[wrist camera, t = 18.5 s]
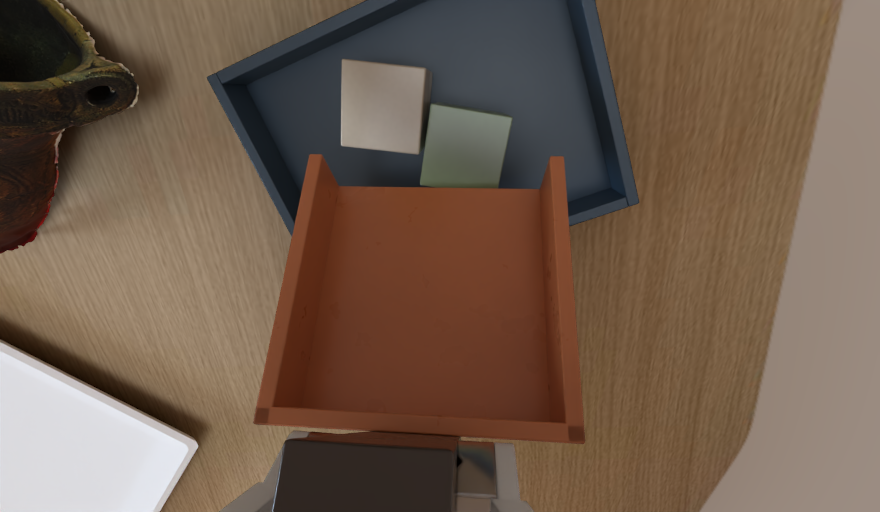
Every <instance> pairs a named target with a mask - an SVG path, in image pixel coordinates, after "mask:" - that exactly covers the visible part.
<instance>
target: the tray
mask: <svg viewBox="0 0 880 512" xmlns="http://www.w3.org/2000/svg"><path fill="white" fill-rule="evenodd" d="M342 59H350V60H359V61H368V62H378V63H387V64H396V65H405V66H415V67H424V68H426V69H427V70H429V71H431V72H432V73H433V76H432V88H431V100H430V106H431V103H436V102H441V103H447V104H453V105H458V106H464V107H470V108H476V109H482V110H488V111H494V112H499V113H505V114H507V115H509V116H511V117H513V120H512V125H511V130H510V134H509V139H508V144H507V148H506V153H505V158H504V162H503V167H502V172H501V176H500V181H499V186H498V188H499V189H540V187H541V184H542V180H543V177H544V174H545V171H546V168H547V165H548V161H549V158H550V157H551V156H563V157H564V163H565V177H566V190H567V204H568V217H569V226H572V225H575V224H578V223H581V222H584V221H587V220H590V219H593V218H596V217H599V216H602V215H605V214H608V213H611V212H614V211H617V210H620V209H623V208H626V207H628V206H632V205H635V204H638V203H639V199H638V194H637V189H636V185H635V180H634V176H633V171H632V167H631V162H630V158H629V153H628V148H627V144H626V139H625V135H624V130H623V126H622V121H621V117H620V112H619V107H618V103H617V98H616V94H615V89H614V85H613V80H612V76H611V71H610V66H609V62H608V57H607V53H606V48H605V44H604V39H603V35H602V30H601V25H600V21H599V16H598V12H597V7H596V3H595V0H366V1H364V2H362V3H360V4H358V5H356V6H353V7H351V8H349V9H347V10H345V11H343V12H341V13H339V14H337V15H335V16H333V17H331V18H329V19H326V20H324V21H322V22H320V23H318V24H316V25H314V26H312V27H310V28H308V29H306V30H304V31H302V32H299V33H297V34H295V35H293V36H291V37H289V38H287V39H285V40H283V41H281V42H279V43H277V44H275V45H272V46H270V47H268V48H266V49H264V50H262V51H260V52H258V53H256V54H254V55H252V56H250V57H248V58H245V59H243V60H241V61H239V62H237V63H235V64H233V65H231V66H229V67H227V68H225V69H223V70H221V71H218V72H217V73H214V74H212V75H210V76H208V77H207V79H208V81H209V83H210V85H211V87H212V89H213V90H214V92H215V94H216V96H217V98H218V100H219V102H220V104H221V105H222V107H223V109H224V111H225V113H226V115H227V117H228V118H229V120H230V122H231V124H232V126H233V128H234V130H235V132H236V133H237V135H238V137H239V139H240V141H241V143H242V145H243V146H244V148H245V150H246V152H247V154H248V156H249V158H250V160H251V161H252V163H253V165H254V167H255V169H256V171H257V173H258V174H259V176H260V178H261V180H262V182H263V184H264V186H265V187H266V189H267V191H268V193H269V195H270V197H271V199H272V201H273V202H274V204H275V206H276V208H277V210H278V212H279V214H280V215H281V217H282V219H283V221H284V223H285V225H286V227H287V229H288V230H289V232H290V234H291V236H292V235H293V230H294V226H295V221H296V216H297V211H298V207H299V202H300V197H301V192H302V188H303V183H304V178H305V173H306V168H307V164H308V159H309V155H310V154H322V155H323V157H324V159H325V161H326V163H327V165H328V167H329V168H330V170H331V172H332V174H333V176H334V178H335V180H336V182H337V183H338V185H339V186H361V187H430V186H424V185H420V178H421V171H422V163H423V156H424V149H425V147H424V149H423V150H422V151H421V152H420V153H419V154H418V155H416V154H407V153H398V152H389V151H381V150H372V149H363V148H354V147H345V146H341V75H342ZM429 113H430V111H429ZM430 188H436V187H430Z"/></svg>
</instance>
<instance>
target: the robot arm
mask: <svg viewBox="0 0 880 512" xmlns="http://www.w3.org/2000/svg"><path fill="white" fill-rule="evenodd" d="M325 435H336V434H333V433H321V432H307V431H293V432H292V433H291V434H289V436H288V438H287V439H286V440H288V439H292V438H303V437H314V436H325ZM457 444H458V451H457V471H456V492H455V512H534V511H533V509H532V508H531V507H530V505H529V504H528V503H527V501H521V500H520V493H519V484H518V475H517V466H516V457H515V448H514V445H513V444H512V443H493V442H475V441H457ZM282 451H283V447H282V449H281V450H280V452H279V454H278V456H277V458H276V460H275V462H274V463H273V465H272V467H271V469H270V471H269V473H268V475H267V476H266V478H265V480H264V482H263V483H260V482H258V483H256V484H255V485H254V486H252V487H251V488H250V489H248V490H247V491H246V492H244V493H243V494H242V495H240V496H239V497H238V498H236V499H235V500H234V501H232V502H231V503H230V504H228V505H227V506H226V507H224V508H223V509H222V510H220V511H219V512H272V506H273V501H274V495H275V490H276V484H277V479H278V473H279V467H280V462H281V456H282Z"/></svg>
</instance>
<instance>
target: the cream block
mask: <svg viewBox="0 0 880 512" xmlns="http://www.w3.org/2000/svg"><path fill="white" fill-rule="evenodd" d="M432 76H433V73H432V72H431V71H429V70H427V69H426V68H424V67H415V66H405V65H396V64H387V63H378V62H368V61H359V60H350V59H342V75H341V146H345V147H354V148H363V149H372V150H381V151H389V152H398V153H407V154H416V155H418V154H419V153H420V152H421V151H422V150H423V149H424V147H425V142H426V135H427V128H428V120H429V111H430V100H431V88H432Z"/></svg>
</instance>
